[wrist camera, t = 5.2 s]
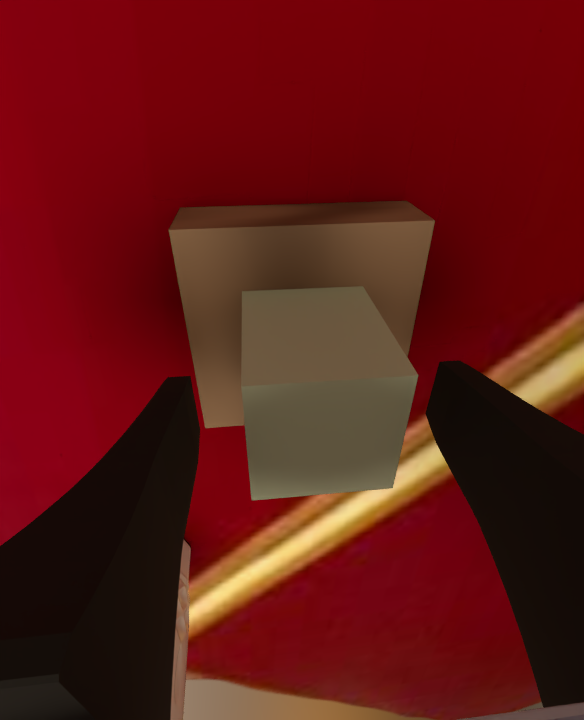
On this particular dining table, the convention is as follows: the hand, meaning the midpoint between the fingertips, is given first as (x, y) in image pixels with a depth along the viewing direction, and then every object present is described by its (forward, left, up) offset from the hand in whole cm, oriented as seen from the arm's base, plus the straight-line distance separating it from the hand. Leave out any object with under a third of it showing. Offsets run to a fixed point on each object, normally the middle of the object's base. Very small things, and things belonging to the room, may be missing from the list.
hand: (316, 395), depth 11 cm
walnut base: (0, 0, -6) cm, 6 cm away
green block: (0, 0, -3) cm, 3 cm away
